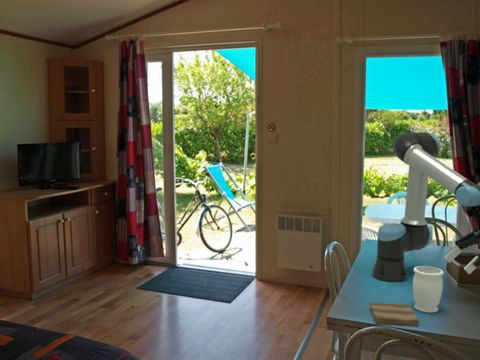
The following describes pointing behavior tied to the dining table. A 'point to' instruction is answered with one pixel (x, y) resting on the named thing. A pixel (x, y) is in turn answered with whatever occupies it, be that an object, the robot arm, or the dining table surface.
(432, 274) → the jar
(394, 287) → the dining table surface
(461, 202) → the robot arm
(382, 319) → the walnut stand
